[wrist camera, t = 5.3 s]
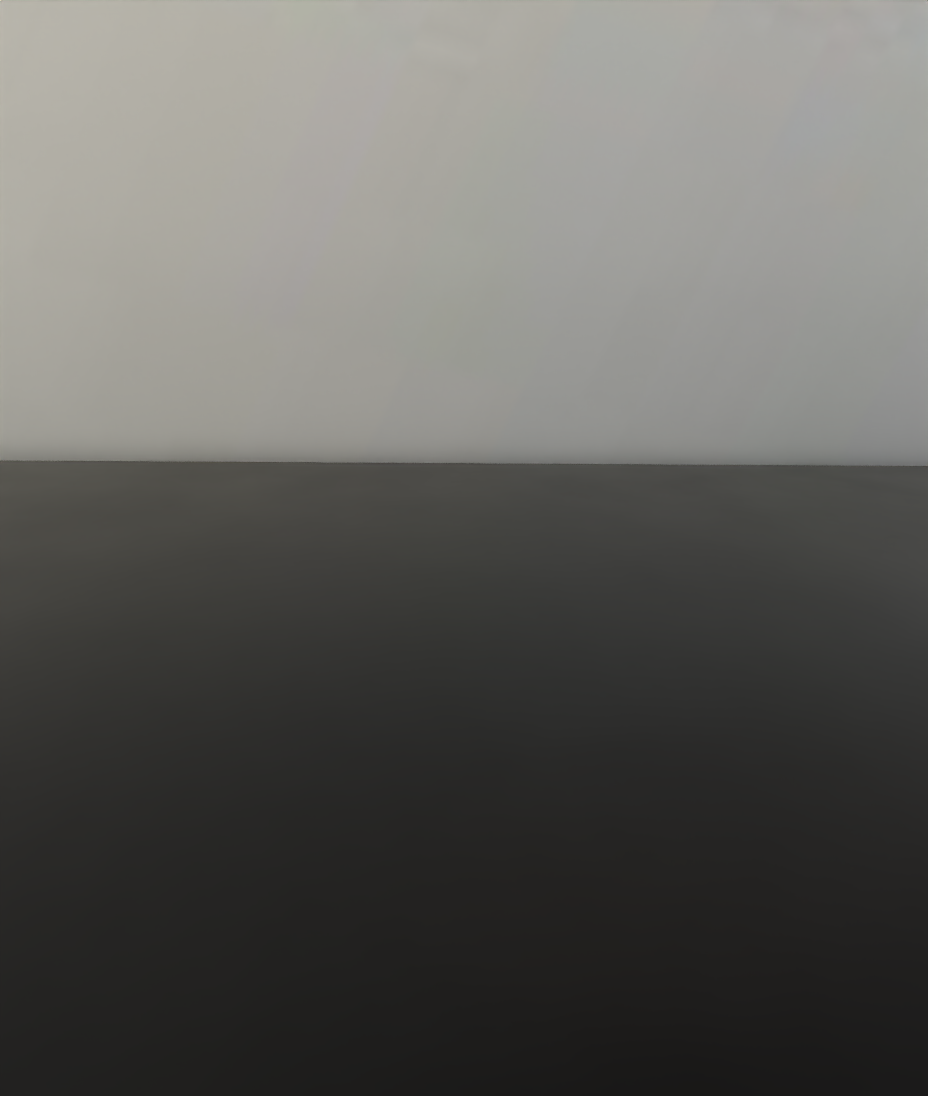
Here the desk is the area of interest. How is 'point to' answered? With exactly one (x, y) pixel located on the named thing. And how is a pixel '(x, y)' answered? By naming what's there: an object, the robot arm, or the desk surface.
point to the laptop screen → (463, 779)
